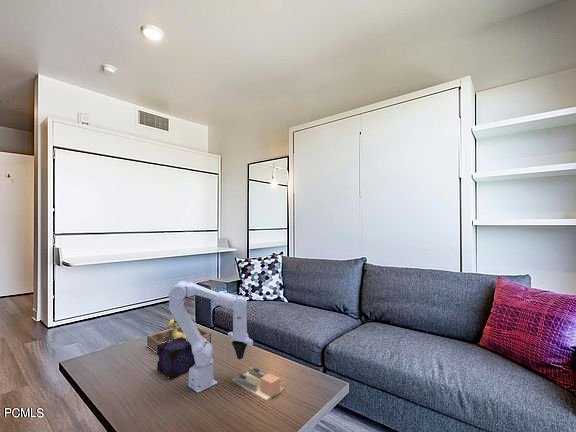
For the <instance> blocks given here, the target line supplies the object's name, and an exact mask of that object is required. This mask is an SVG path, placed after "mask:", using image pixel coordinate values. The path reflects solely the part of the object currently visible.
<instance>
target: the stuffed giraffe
mask: <svg viewBox="0 0 576 432" xmlns="http://www.w3.org/2000/svg"><path fill="white" fill-rule="evenodd" d="M166 326H167V329H168V330H171V328H172V329H173V330H172V338H173V340H174V339H177V338H180V337H183V338H185V339H186V341H188V339H187V338H186V336H185V334H184V333H181V332H178V331H177V328H178V327H179V325H178V323H177V321H176V320H175V318H174V317H173V319H170V320H169V321H168V323H167V325H166ZM173 340H170V341H166V342H167V343H169V342H172V341H173Z"/></svg>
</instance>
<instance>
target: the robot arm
mask: <svg viewBox="0 0 576 432" xmlns="http://www.w3.org/2000/svg"><path fill="white" fill-rule="evenodd" d="M193 296H199V297H202V298H205V299H209V300H213V301H214V302H215V304H216V305H218V306H221V307H223V308H224V307H225V308H227V309H231V310H232V311H233V314H232V331H229V332H228V333H227V338H228V339H229V338H231V340H233V341H232V342H231V345H232V346H233V348H234V352H235V355H236V359H238V360H241V359H243V358H244V355H245V352H246V348H247V346H248V347H251V346H253V345H254V340H253V339H252V338H251V337H249V333H248V332H247V331H248V329H247V327H248V326H247V325H248V322H247V321H248V320H247V318H248V316H247V307H248V306H247V305H248V303H247V302H248V301H247V298H246V297H244V296H243V295H238V294H232V293H229V292H228V290H223V291H222V290H220V291H218V292H217V291H215V290H212V289H210V288H207V287H205V286H202V285H199V284H197V283H195V282H191V281H187V280H181V281H178V283H176V284H175V285H173V286H172V287H171V289H170V291H169V294H168V305H169V306H168V309H169V311H170V313H171V314H172V316H173V319H174V318H175V320H176V321H177V326H178V327H180V328H181V330H182V331H183V333H184V334H185V336H186V338H187V339H188V341H189V343H190V344H191V346H192V353H193V355H194V360H195V365H194V366H192V367H191V368H190V369H189V372H188V384H187V387H189V388H190V389H192V390H193V391H195V392H196V393H200V392H203V391H204V390H206V389H209V388H211V387H212V386H215V385H217V384H218V381H217V380H215V379H214V359H213V357H212V354H213V353H214V350H215V349H214V345H213V344H212V342H211V343H209V342H208V341H207V340H206V339H205V338H203V337H202V336H201V334H200V332H199V331H198V329H197V328H198V327H197V326H196V324H195V322H194V321H193V319H192V318H191V316H190V315H189V313H188V311H187V309H186V308H185V306H184V305H185V302H186V298H190V297H193Z"/></svg>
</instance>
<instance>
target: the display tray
mask: <svg viewBox="0 0 576 432" xmlns="http://www.w3.org/2000/svg"><path fill="white" fill-rule="evenodd" d="M197 329H198V331H199V332H200V334H201V336H202V337H203V338H205V339H206V340H207V341H208V342H209V343H211V344H212V333H210V332H208V331H206V330H204V329H201V328H199V327H197ZM172 330H173V328H172V329H171V328H170V329H168V330H165V331H161V332H158V333H154V334H151V335H147V339H146V341H147V343H146V344H147V345H148V346H149V347H150V348H152V349H153V350H154V351H156V352H157V345H159V344H162V342H165V341H169V340H173V338H172ZM177 331H178V332H181V333H183V331H182V330H181V328H180V326H178V327H177ZM188 342H189V341H188ZM147 345H146V346H147ZM154 351H153V352H154Z"/></svg>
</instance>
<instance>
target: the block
mask: <svg viewBox="0 0 576 432" xmlns="http://www.w3.org/2000/svg"><path fill="white" fill-rule="evenodd" d="M280 386H281V377H278V376H276V375H274V374H273V373H267V374H266V375H265V376H263V377H262V378H261V391H262V392H264V393H266V394H268V395H269V396H271V397H272V396H273V395H275V394H276V393H278V392H280ZM280 393H281V392H280ZM278 394H279V393H278ZM275 396H276V395H275ZM272 398H273V397H272Z"/></svg>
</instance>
